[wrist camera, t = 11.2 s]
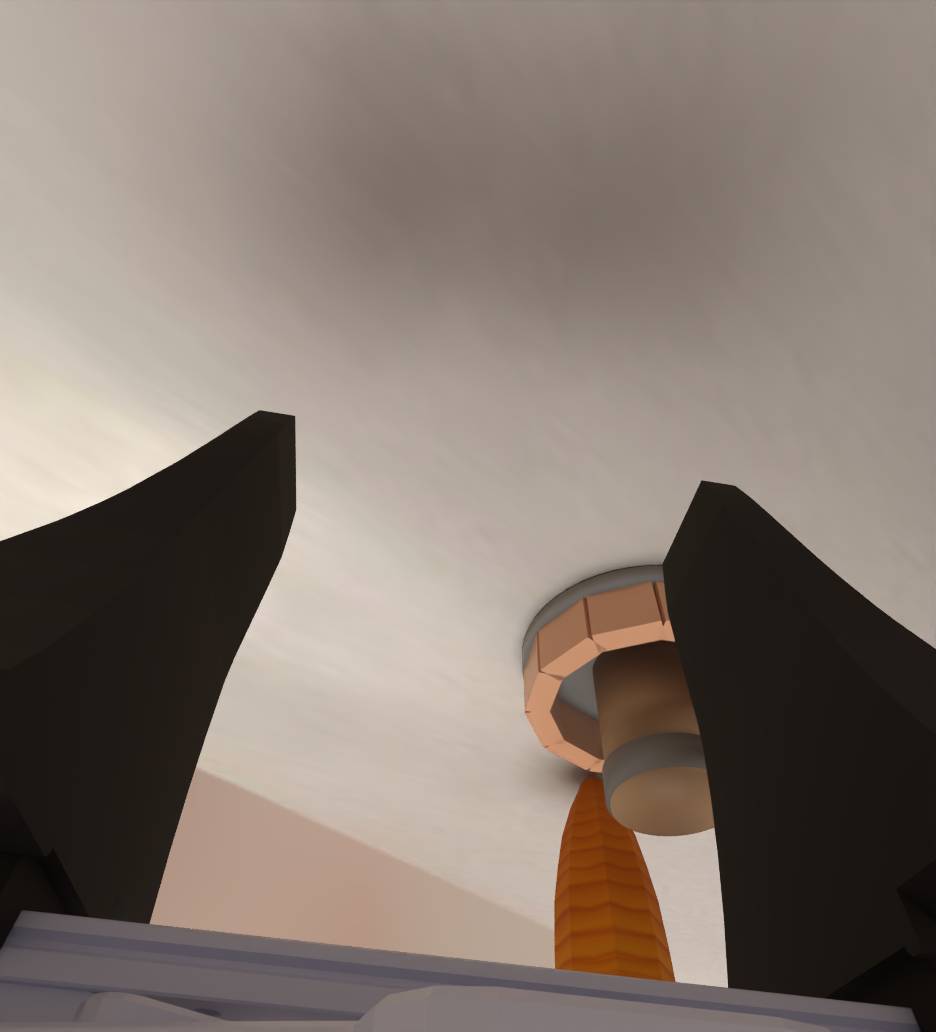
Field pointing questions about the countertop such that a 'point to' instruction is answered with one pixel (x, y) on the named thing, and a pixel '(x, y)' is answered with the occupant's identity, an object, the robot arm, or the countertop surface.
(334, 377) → the countertop surface
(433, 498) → the countertop surface
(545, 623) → the coaster
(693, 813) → the walnut pepper mill
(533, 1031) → the robot arm
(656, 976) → the carrot
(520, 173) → the countertop surface
